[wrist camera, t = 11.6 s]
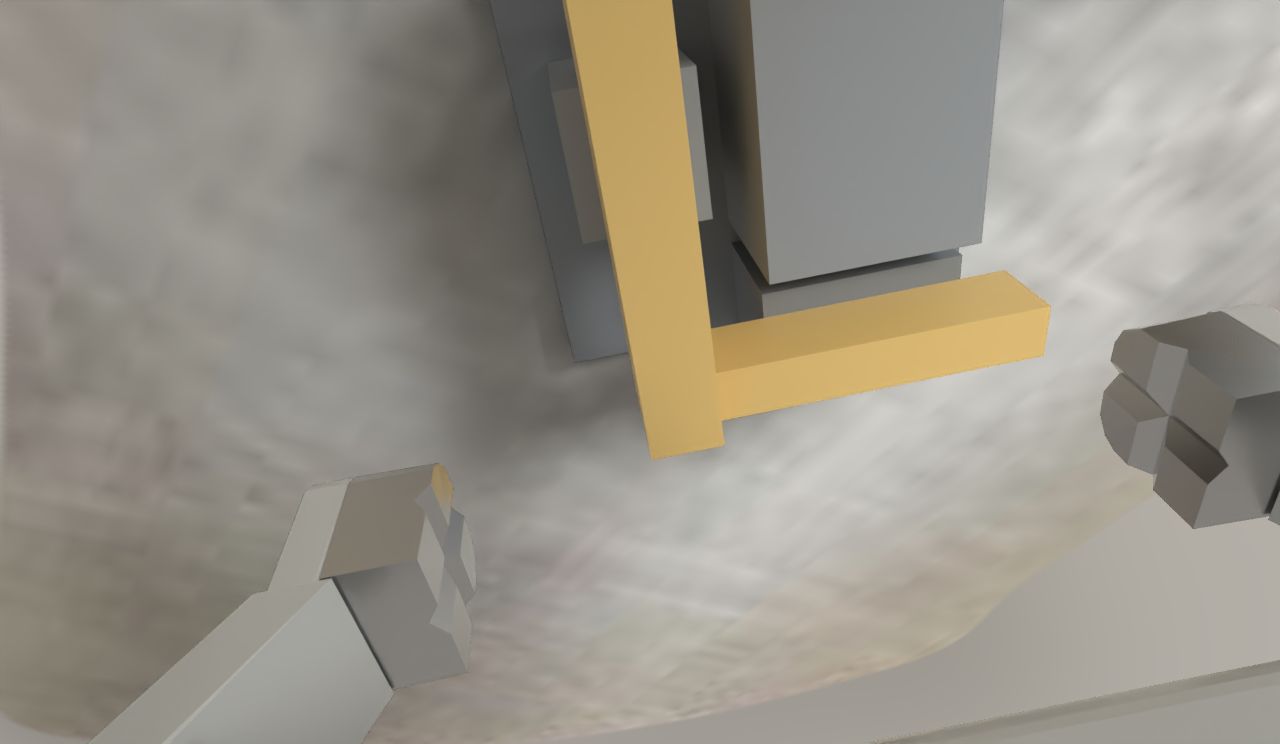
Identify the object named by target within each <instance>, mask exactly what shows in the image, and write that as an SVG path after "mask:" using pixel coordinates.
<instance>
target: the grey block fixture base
mask: <svg viewBox="0 0 1280 744" xmlns="http://www.w3.org/2000/svg"><path fill="white" fill-rule="evenodd" d="M490 4H491V9H492V13H493V17H494V21H495V26H496V30H497V34H498V38H499V43H500V47H501V51H502V55H503V60H504V64H505V68H506V72H507V77H508V81H509V85H510V90H511V94H512V98H513V102H514V107H515V111H516V115H517V119H518V124H519V128H520V132H521V136H522V141H523V145H524V149H525V154H526V158H527V162H528V166H529V171H530V175H531V179H532V183H533V188H534V192H535V196H536V200H537V205H538V209H539V213H540V217H541V222H542V226H543V230H544V235H545V239H546V243H547V247H548V252H549V256H550V260H551V264H552V269H553V273H554V277H555V281H556V286H557V290H558V294H559V299H560V303H561V307H562V311H563V316H564V320H565V324H566V328H567V333H568V337H569V341H570V345H571V350H572V354H573V358H574V362H575V363H576V362H581V361H586V360H591V359H597V358H602V357H607V356H612V355H617V354H622V353H627V352H628V347H627V341H626V336H625V331H624V325H623V320H622V315H621V309H620V304H619V299H618V293H617V288H616V283H615V278H614V272H613V267H612V262H611V256H610V251H609V246H608V240H607V235H606V230H605V225H604V219H603V214H602V209H601V203H600V198H599V193H598V187H597V182H596V177H595V171H594V166H593V161H592V156H591V150H590V145H589V140H588V134H587V129H586V124H585V118H584V113H583V108H582V102H581V97H580V92H579V87H578V81H577V76H576V71H575V65H574V60H573V55H572V49H571V44H570V39H569V34H568V28H567V23H566V18H565V12H564V7H563V2H562V0H490ZM672 6H673V14H674V22H675V31H676V39H677V48H678V56H679V64H680V73H681V81H682V90H683V98H684V107H685V115H686V123H687V132H688V140H689V149H690V157H691V166H692V174H693V182H694V191H695V199H696V208H697V216H698V225H699V233H700V241H701V250H702V258H703V267H704V275H705V283H706V292H707V300H708V309H709V317H710V326H711V329H712V328H717V327H722V326H727V325H732V324H737V323H742V322H747V321H752V320H757V319H762V318H767V317H772V316H777V315H782V314H787V313H792V312H797V311H802V310H807V309H812V308H817V307H822V306H827V305H832V304H837V303H842V302H848V301H853V300H858V299H863V298H868V297H873V296H878V295H883V294H888V293H893V292H898V291H903V290H908V289H913V288H918V287H923V286H928V285H933V284H938V283H943V282H948V281H953V280H958V279H960V275H961V262H962V255H961V254H960V253H959V247H964V246H969V245H974V244H979V243H982V232H983V221H984V211H985V200H986V189H987V178H988V167H989V157H990V146H991V135H992V124H993V114H994V103H995V92H996V81H997V70H998V60H999V49H1000V38H1001V27H1002V17H1003V6H1004V0H672Z"/></svg>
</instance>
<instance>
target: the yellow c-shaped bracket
mask: <svg viewBox="0 0 1280 744" xmlns="http://www.w3.org/2000/svg"><path fill="white" fill-rule="evenodd" d="M562 2H563V7H564V12H565V18H566V23H567V28H568V34H569V39H570V44H571V49H572V55H573V60H574V65H575V71H576V76H577V81H578V87H579V92H580V97H581V102H582V108H583V113H584V118H585V124H586V129H587V134H588V140H589V145H590V150H591V156H592V161H593V166H594V171H595V177H596V182H597V187H598V193H599V198H600V203H601V209H602V214H603V219H604V225H605V230H606V235H607V240H608V246H609V251H610V256H611V262H612V267H613V272H614V278H615V283H616V288H617V293H618V299H619V304H620V309H621V315H622V320H623V325H624V331H625V336H626V341H627V347H628V352H629V357H630V362H631V368H632V373H633V378H634V384H635V389H636V394H637V398H638V402H639V407H640V411H641V416H642V420H643V424H644V429H645V433H646V438H647V442H648V446H649V451H650V455H651V460H656V459H661V458H666V457H671V456H675V455H680V454H685V453H690V452H695V451H700V450H705V449H710V448H715V447H720V446H725V444H724V435H723V427H722V421H723V420H728V419H733V418H738V417H743V416H748V415H753V414H758V413H763V412H768V411H773V410H778V409H783V408H787V407H792V406H797V405H802V404H807V403H812V402H817V401H822V400H827V399H832V398H837V397H842V396H847V395H852V394H857V393H862V392H867V391H872V390H877V389H882V388H886V387H891V386H896V385H901V384H906V383H911V382H916V381H921V380H926V379H931V378H936V377H941V376H946V375H951V374H956V373H961V372H966V371H971V370H976V369H980V368H985V367H990V366H995V365H1000V364H1005V363H1010V362H1015V361H1020V360H1025V359H1030V358H1035V357H1040V356H1044V350H1045V344H1046V337H1047V331H1048V324H1049V317H1050V311H1051V306H1050V305H1049V304H1048V303H1046V302H1045V301H1044V300H1043V299H1041V298H1040V297H1039V296H1037V295H1036V294H1035V293H1033V292H1032V291H1031V290H1030V289H1028V288H1027V287H1026V286H1024V285H1023V284H1022V283H1021V282H1019V281H1018V280H1017V279H1015V278H1014V277H1013V276H1012V275H1010V274H1009V273H1008V272H1006V271H1005V270H1004V271H998V272H993V273H988V274H983V275H978V276H973V277H968V278H963V279H958V280H953V281H948V282H943V283H938V284H933V285H928V286H923V287H918V288H913V289H908V290H903V291H898V292H893V293H888V294H883V295H878V296H873V297H868V298H863V299H858V300H853V301H848V302H842V303H837V304H832V305H827V306H822V307H817V308H812V309H807V310H802V311H797V312H792V313H787V314H782V315H777V316H772V317H767V318H762V319H757V320H752V321H747V322H742V323H737V324H732V325H727V326H722V327H717V328H712V329H711V326H710V317H709V309H708V300H707V292H706V283H705V275H704V267H703V258H702V250H701V241H700V233H699V225H698V216H697V208H696V199H695V191H694V182H693V174H692V166H691V157H690V149H689V140H688V132H687V123H686V115H685V107H684V98H683V90H682V81H681V73H680V64H679V56H678V48H677V39H676V31H675V22H674V14H673V6H672V0H562Z"/></svg>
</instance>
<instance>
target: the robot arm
mask: <svg viewBox="0 0 1280 744" xmlns="http://www.w3.org/2000/svg"><path fill="white" fill-rule="evenodd" d="M1111 362H1112V363H1113V365H1114V366H1115V368H1116V369H1117V370H1118V372H1119V373H1120V374H1119V375H1118V376H1117V377H1116V378H1115V379H1114V380H1113V381H1112V383H1111V384H1110V385H1109V386H1108V387H1107V388H1106V389H1105V391H1104V393H1103V399H1102V405H1101V412H1100V416H1101V420H1102V424H1103V429H1104V433H1105V436H1106V438H1107V440H1108V441H1109V443H1110V445H1111V447H1112V448H1113V450H1114V451H1115V452H1116V453H1117V454H1118V455H1119V456H1120V457H1121V458H1122V459H1123V461H1124V462H1125V463H1126V464H1127V465H1130V466H1132V467H1135V468H1137V469H1140V470H1142V471H1145V472H1148V473H1150V474H1153V490H1154V491H1155V492H1156V493H1157V494H1158V495H1159V496H1160V497H1161V498H1162V499H1163V500H1164V501H1165V502H1166V503H1167V504H1168V505H1169V506H1170V507H1171V508H1172V509H1173V510H1174V511H1175V512H1176V513H1177V514H1178V515H1179V516H1181V517H1182V518H1183V519H1184V520H1185V521H1186V522H1187V523H1188V524H1189V525H1190V526H1191V527H1192V528H1193V529H1196V528H1202V527H1208V526H1214V525H1220V524H1225V523H1232V522H1237V521H1243V520H1249V519H1255V518H1261V517H1266V516H1269V519H1268V520H1270V521H1272V522H1274V523H1276V524H1278V525H1280V311H1278V310H1276V309H1274V308H1273V307H1271V306H1269V305H1264V304H1258V303H1252V302H1251V303H1246V304H1242V305H1237V306H1233V307H1228V308H1224V309H1219V310H1215V311H1210V312H1208V313H1206V314H1203V315H1198V316H1193V317H1188V318H1183V319H1178V320H1173V321H1168V322H1163V323H1158V324H1153V325H1148V326H1143V327H1138V328H1133V329H1128V330H1123V332H1122V333H1121V334H1120V336H1119V337H1118V339H1117V340H1116V341H1115V344H1114V348H1113V352H1112V356H1111ZM452 497H453V486H452V484H451V482H450V479H449V477H448V475H447V472H446V470H445V468H444V467H443V466H442V465H440V464H439V463H434V464H429V465H423V466H417V467H411V468H405V469H400V470H394V471H388V472H382V473H376V474H371V475H365V476H359V477H356V478H349V479H343V480H338V481H333V482H328V483H322V484H317V485H313V486H312V487H311V488H309V489H308V490H307V491H306V492H305V493H304V495H303V498H302V500H301V503H300V505H299V508H298V511H297V513H296V516H295V519H294V521H293V524H292V526H291V529H290V532H289V534H288V537H287V539H286V542H285V545H284V547H283V550H282V552H281V555H280V558H279V560H278V563H277V566H276V568H275V571H274V573H273V576H272V579H271V581H270V584H269V586H268V589H267V591H264V592H259V593H254V594H252V595H251V596H250V597H249V598H248V599H247V600H246V601H245V602H244V603H242V604H241V605H240V606H239V607H238V608H237V609H236V610H235V611H234V612H232V613H231V614H230V615H229V616H228V617H227V618H226V619H225V620H224V621H223V622H221V623H220V624H219V625H218V626H217V627H216V628H215V629H214V630H213V631H211V632H210V633H209V634H208V635H207V636H206V637H205V638H204V639H203V640H202V641H200V642H199V643H198V644H197V645H196V646H195V647H194V648H193V649H192V650H190V651H189V652H188V653H187V654H186V655H185V656H184V657H183V658H182V659H181V660H179V661H178V662H177V663H176V664H175V665H174V666H173V667H172V668H171V669H169V670H168V671H167V672H166V673H165V674H164V675H163V676H162V677H161V678H160V679H158V680H157V681H156V682H155V683H154V684H153V685H152V686H151V687H150V688H148V689H147V690H146V691H145V692H144V693H143V694H142V695H141V696H140V697H139V698H137V699H136V700H135V701H134V702H133V703H132V704H131V705H130V706H129V707H127V708H126V709H125V710H124V711H123V712H122V713H121V714H120V715H119V716H118V717H116V718H115V719H114V720H113V721H112V722H111V723H110V724H109V725H108V726H106V727H105V728H104V729H103V730H102V731H101V732H100V733H99V734H98V735H96V736H95V737H94V738H93V739H92V740H91V741H90V742H89V743H88V744H361V743H362V741H363V740H364V738H365V737H366V735H367V734H368V732H369V731H370V729H371V728H372V726H373V725H374V723H375V722H376V720H377V719H378V717H379V716H380V714H381V713H382V711H383V710H384V708H385V707H386V705H387V704H388V702H389V701H390V699H391V698H392V696H393V695H394V692H393V689H398V688H402V687H406V686H411V685H415V684H420V683H424V682H429V681H433V680H437V679H442V678H446V677H451V676H455V675H459V674H464V673H468V666H469V655H470V644H471V633H472V622H471V619H470V617H469V614H468V612H467V610H466V607H465V605H466V603H467V602H468V601H469V600H470V599H471V597H472V596H473V595H474V594H475V584H476V566H475V555H474V547H473V543H472V539H471V535H470V531H469V528H468V526H467V523H466V520H465V518H464V516H463V515H461V514H460V513H458V512H456V511H455V510H453V509H452V508H451V505H452ZM864 744H1280V660H1277V661H1272V662H1268V663H1263V664H1258V665H1253V666H1248V667H1243V668H1238V669H1233V670H1228V671H1223V672H1218V673H1213V674H1208V675H1203V676H1198V677H1193V678H1188V679H1183V680H1178V681H1173V682H1169V683H1164V684H1159V685H1154V686H1149V687H1144V688H1139V689H1135V690H1129V691H1124V692H1119V693H1114V694H1109V695H1104V696H1099V697H1094V698H1089V699H1084V700H1079V701H1074V702H1069V703H1064V704H1059V705H1054V706H1049V707H1044V708H1039V709H1034V710H1029V711H1024V712H1019V713H1014V714H1009V715H1004V716H999V717H994V718H989V719H984V720H979V721H974V722H969V723H964V724H959V725H954V726H949V727H944V728H939V729H934V730H929V731H924V732H919V733H914V734H909V735H904V736H899V737H894V738H889V739H883V740H878V741H873V742H868V743H864Z"/></svg>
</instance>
